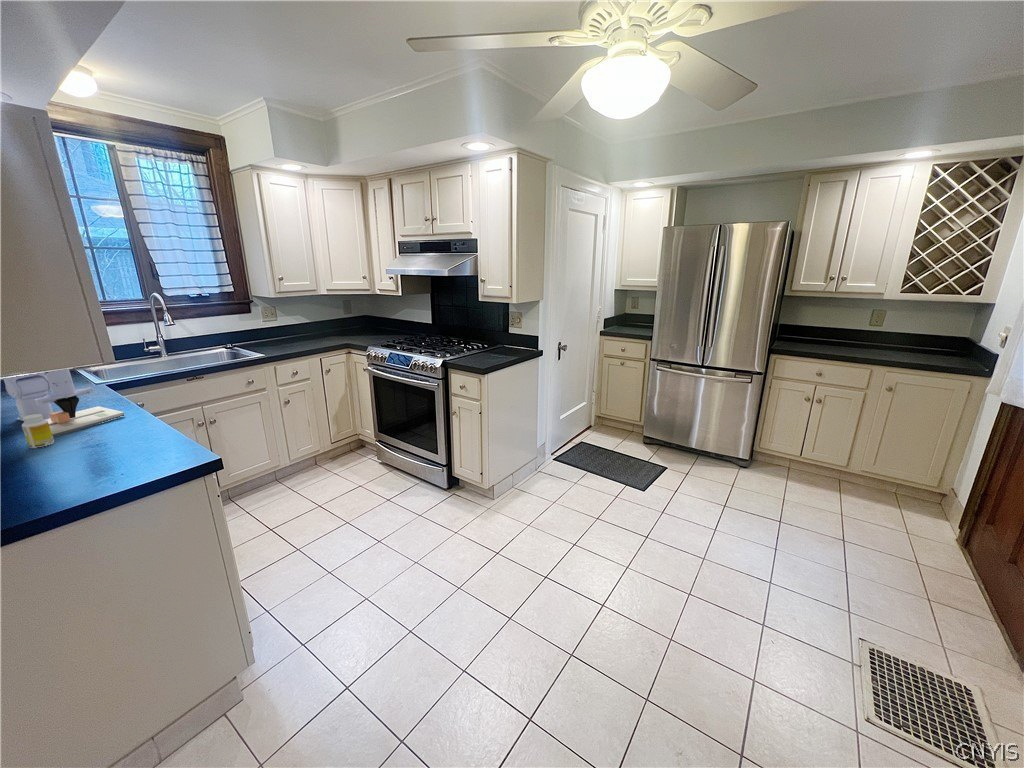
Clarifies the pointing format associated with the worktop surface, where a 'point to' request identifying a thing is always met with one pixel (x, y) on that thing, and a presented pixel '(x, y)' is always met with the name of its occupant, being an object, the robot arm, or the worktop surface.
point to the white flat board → (84, 420)
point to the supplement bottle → (37, 431)
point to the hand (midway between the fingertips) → (71, 417)
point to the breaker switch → (60, 417)
